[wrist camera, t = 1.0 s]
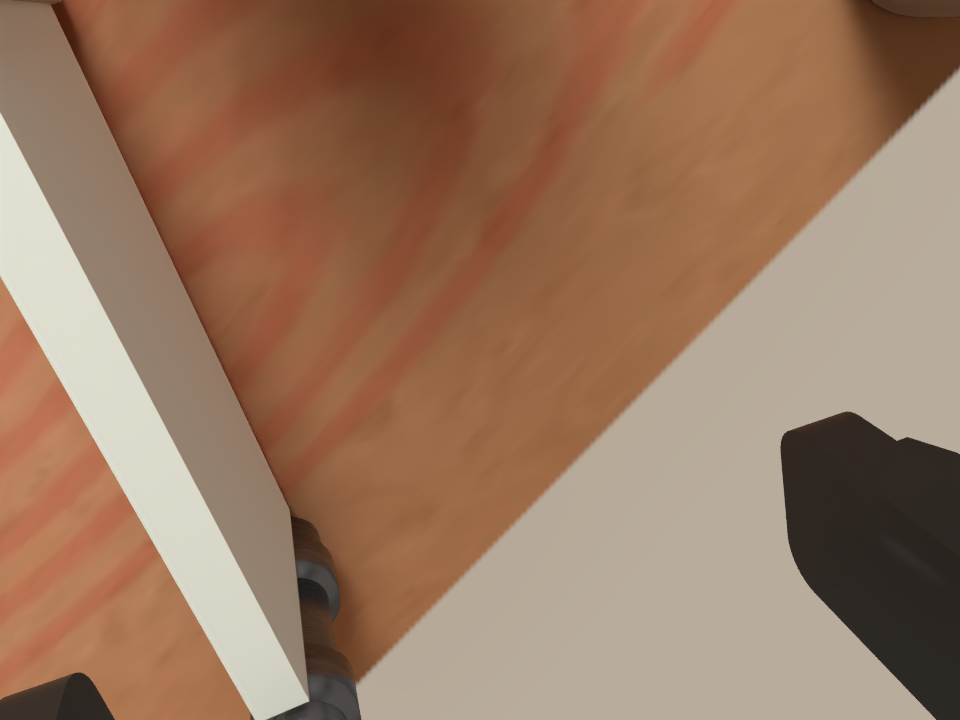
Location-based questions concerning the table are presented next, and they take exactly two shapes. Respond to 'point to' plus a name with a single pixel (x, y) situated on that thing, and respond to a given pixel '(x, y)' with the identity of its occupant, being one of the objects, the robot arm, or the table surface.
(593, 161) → the table surface
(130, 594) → the table surface
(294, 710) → the gate post
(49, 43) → the gate
